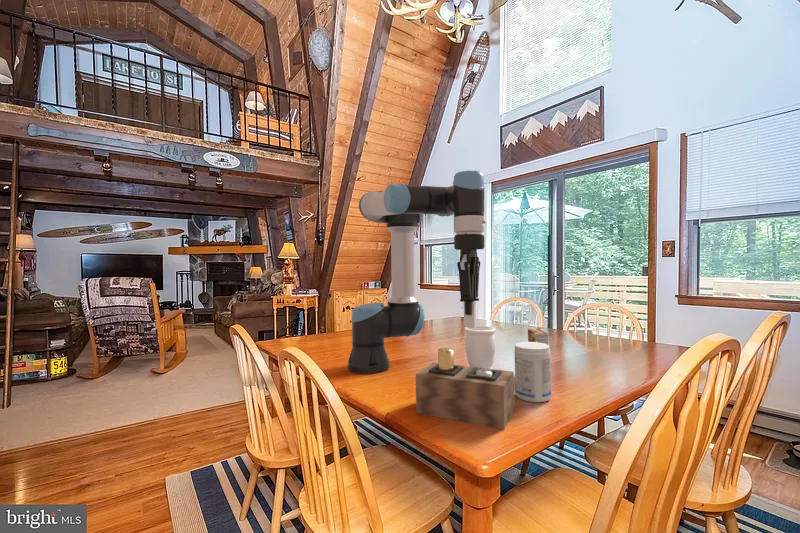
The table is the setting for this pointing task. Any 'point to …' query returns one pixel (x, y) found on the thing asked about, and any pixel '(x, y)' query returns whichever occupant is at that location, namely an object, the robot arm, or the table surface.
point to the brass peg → (446, 359)
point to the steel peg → (484, 372)
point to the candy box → (537, 336)
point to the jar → (480, 346)
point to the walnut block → (466, 395)
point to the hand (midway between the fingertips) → (469, 327)
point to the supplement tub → (533, 371)
